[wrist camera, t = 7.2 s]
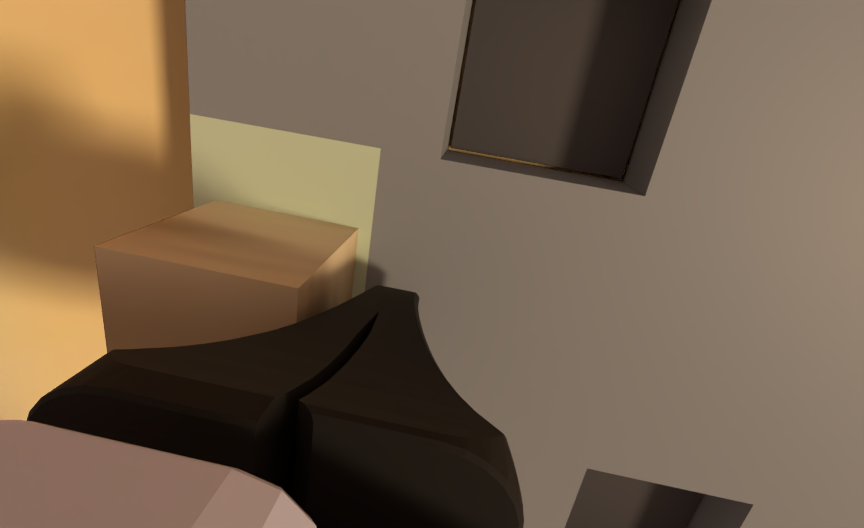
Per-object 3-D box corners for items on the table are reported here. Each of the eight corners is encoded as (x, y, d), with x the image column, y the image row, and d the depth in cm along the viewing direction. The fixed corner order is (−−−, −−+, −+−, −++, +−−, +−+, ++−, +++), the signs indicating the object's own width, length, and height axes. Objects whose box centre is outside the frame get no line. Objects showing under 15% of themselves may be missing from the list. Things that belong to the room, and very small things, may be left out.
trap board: (781, 595, 17) (816, 656, 15) (234, 470, 18) (205, 511, 17) (1185, 7, 10) (1348, -14, 8) (230, -132, 11) (177, -178, 9)
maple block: (345, 354, 13) (288, 454, 10) (217, 327, 14) (114, 414, 10) (358, 228, 12) (298, 288, 8) (216, 199, 12) (94, 246, 8)
